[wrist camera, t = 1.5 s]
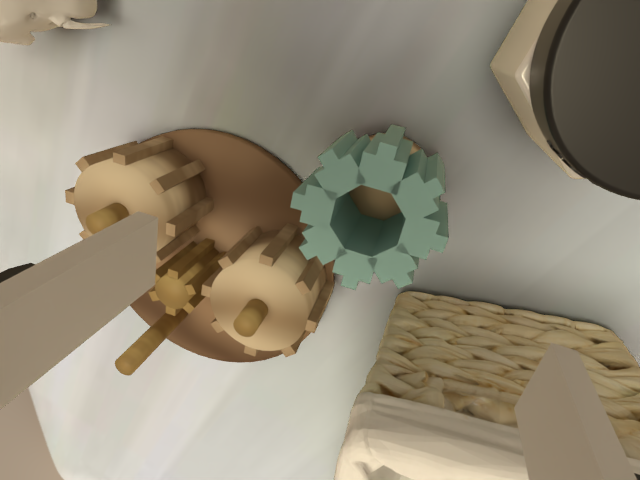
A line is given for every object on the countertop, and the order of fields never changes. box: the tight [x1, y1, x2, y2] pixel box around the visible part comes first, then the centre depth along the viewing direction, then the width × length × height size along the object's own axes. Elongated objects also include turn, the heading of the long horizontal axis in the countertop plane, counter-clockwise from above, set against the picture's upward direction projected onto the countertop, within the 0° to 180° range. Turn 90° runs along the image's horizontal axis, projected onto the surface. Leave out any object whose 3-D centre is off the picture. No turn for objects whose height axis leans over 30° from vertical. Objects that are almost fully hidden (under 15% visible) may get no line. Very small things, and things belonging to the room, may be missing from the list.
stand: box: [349, 133, 421, 221], centre depth 26 cm, size 6×6×3 cm
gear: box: [290, 124, 449, 290], centre depth 23 cm, size 8×8×5 cm
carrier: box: [65, 129, 335, 375], centre depth 30 cm, size 19×19×8 cm
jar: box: [490, 0, 640, 200], centre depth 17 cm, size 9×8×12 cm
